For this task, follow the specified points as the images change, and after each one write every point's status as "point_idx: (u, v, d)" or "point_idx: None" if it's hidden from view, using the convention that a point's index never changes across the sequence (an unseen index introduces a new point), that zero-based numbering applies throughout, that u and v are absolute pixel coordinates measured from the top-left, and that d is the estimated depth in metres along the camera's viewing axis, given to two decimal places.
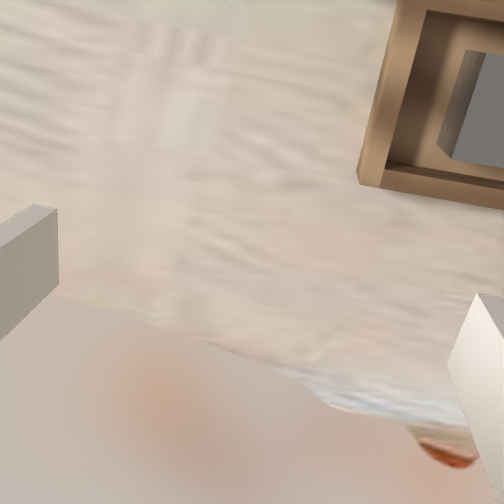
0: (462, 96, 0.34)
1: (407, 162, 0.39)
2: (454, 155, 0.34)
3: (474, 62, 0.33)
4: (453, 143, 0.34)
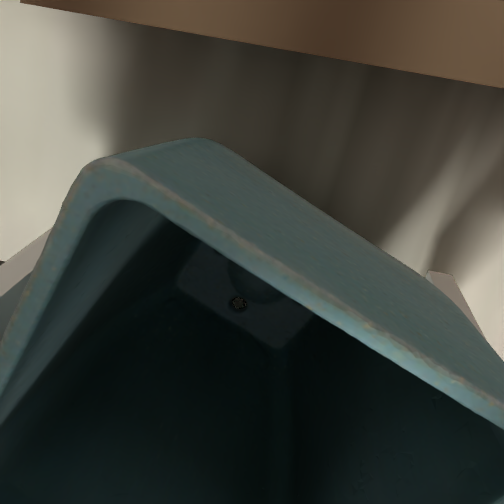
0: None
1: None
2: None
3: None
4: None
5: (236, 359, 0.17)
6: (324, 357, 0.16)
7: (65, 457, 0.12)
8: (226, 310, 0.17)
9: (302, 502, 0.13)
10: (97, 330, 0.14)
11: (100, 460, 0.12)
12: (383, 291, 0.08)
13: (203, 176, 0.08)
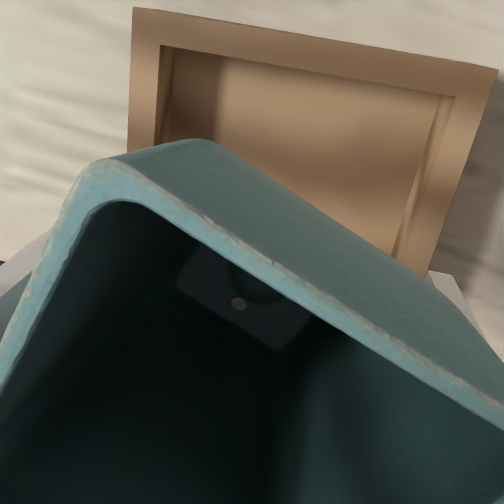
0: None
1: None
2: None
3: None
4: None
5: (236, 359, 0.17)
6: (323, 357, 0.16)
7: (65, 457, 0.12)
8: (226, 310, 0.17)
9: (302, 502, 0.13)
10: (96, 331, 0.14)
11: (99, 460, 0.12)
12: (383, 292, 0.08)
13: (203, 177, 0.08)
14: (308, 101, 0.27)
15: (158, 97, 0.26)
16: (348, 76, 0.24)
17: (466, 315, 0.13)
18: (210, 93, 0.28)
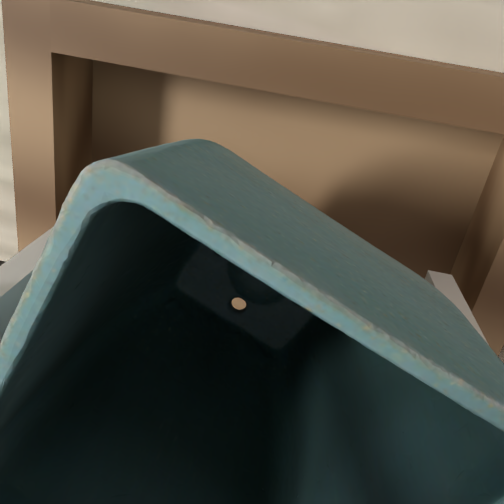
0: None
1: None
2: None
3: None
4: None
5: (236, 360, 0.17)
6: (323, 358, 0.16)
7: (64, 458, 0.12)
8: (226, 310, 0.17)
9: (302, 503, 0.13)
10: (96, 331, 0.14)
11: (100, 460, 0.12)
12: (382, 293, 0.08)
13: (203, 178, 0.08)
14: (298, 138, 0.18)
15: (57, 135, 0.16)
16: (362, 106, 0.14)
17: (466, 315, 0.13)
18: (149, 124, 0.18)
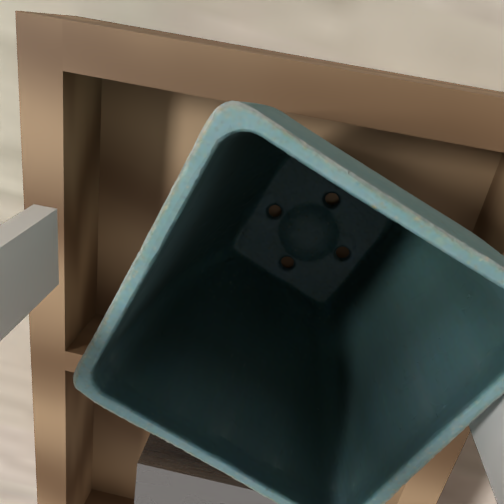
0: None
1: (129, 496, 0.27)
2: None
3: None
4: None
5: (287, 309, 0.19)
6: (364, 302, 0.18)
7: (162, 369, 0.14)
8: (276, 268, 0.20)
9: (353, 414, 0.16)
10: (174, 279, 0.17)
11: (188, 374, 0.15)
12: (424, 208, 0.11)
13: (287, 123, 0.11)
14: None
15: (66, 151, 0.17)
16: (364, 124, 0.15)
17: None
18: (155, 139, 0.19)
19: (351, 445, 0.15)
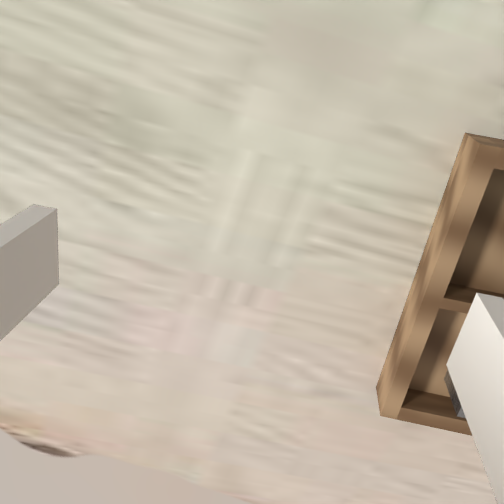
0: None
1: (419, 389, 0.47)
2: (459, 414, 0.42)
3: None
4: (458, 402, 0.42)
5: None
6: None
7: None
8: None
9: None
10: None
11: None
12: None
13: None
14: None
15: (479, 201, 0.36)
16: None
17: None
18: (498, 192, 0.38)
19: None
